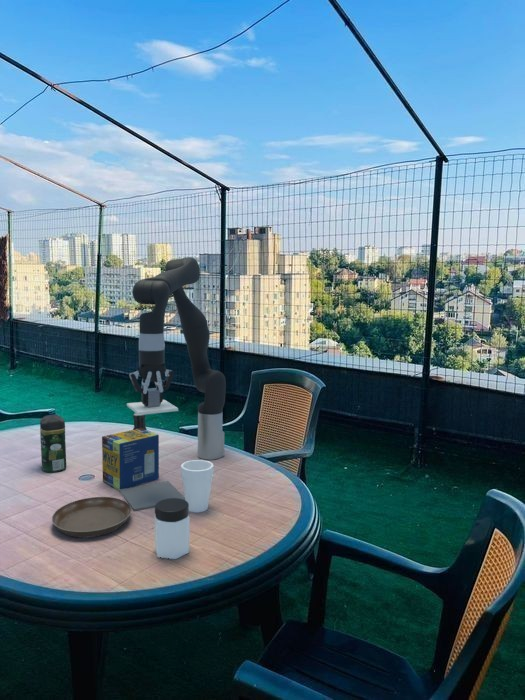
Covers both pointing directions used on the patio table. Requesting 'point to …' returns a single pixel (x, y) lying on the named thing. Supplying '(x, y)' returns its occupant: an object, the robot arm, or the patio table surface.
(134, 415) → the sauce bottle
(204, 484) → the foam cup
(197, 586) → the patio table surface
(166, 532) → the jar
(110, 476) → the protein box
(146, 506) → the mat
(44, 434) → the coffee jar
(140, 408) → the lid
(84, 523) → the plant saucer
